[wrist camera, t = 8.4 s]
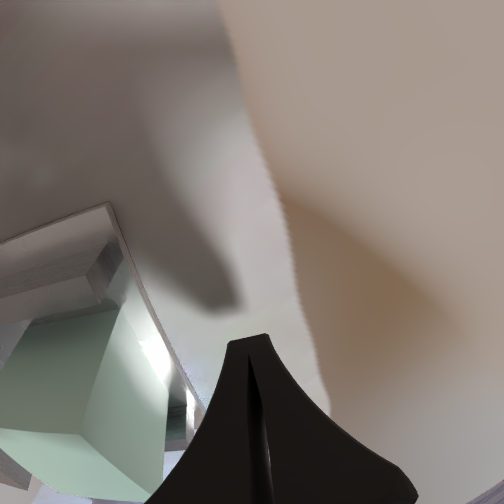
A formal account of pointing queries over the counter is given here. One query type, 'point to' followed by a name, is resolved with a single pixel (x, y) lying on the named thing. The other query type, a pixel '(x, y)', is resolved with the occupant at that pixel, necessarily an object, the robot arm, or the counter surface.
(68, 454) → the pale mint cube
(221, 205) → the counter surface
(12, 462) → the motor mount
